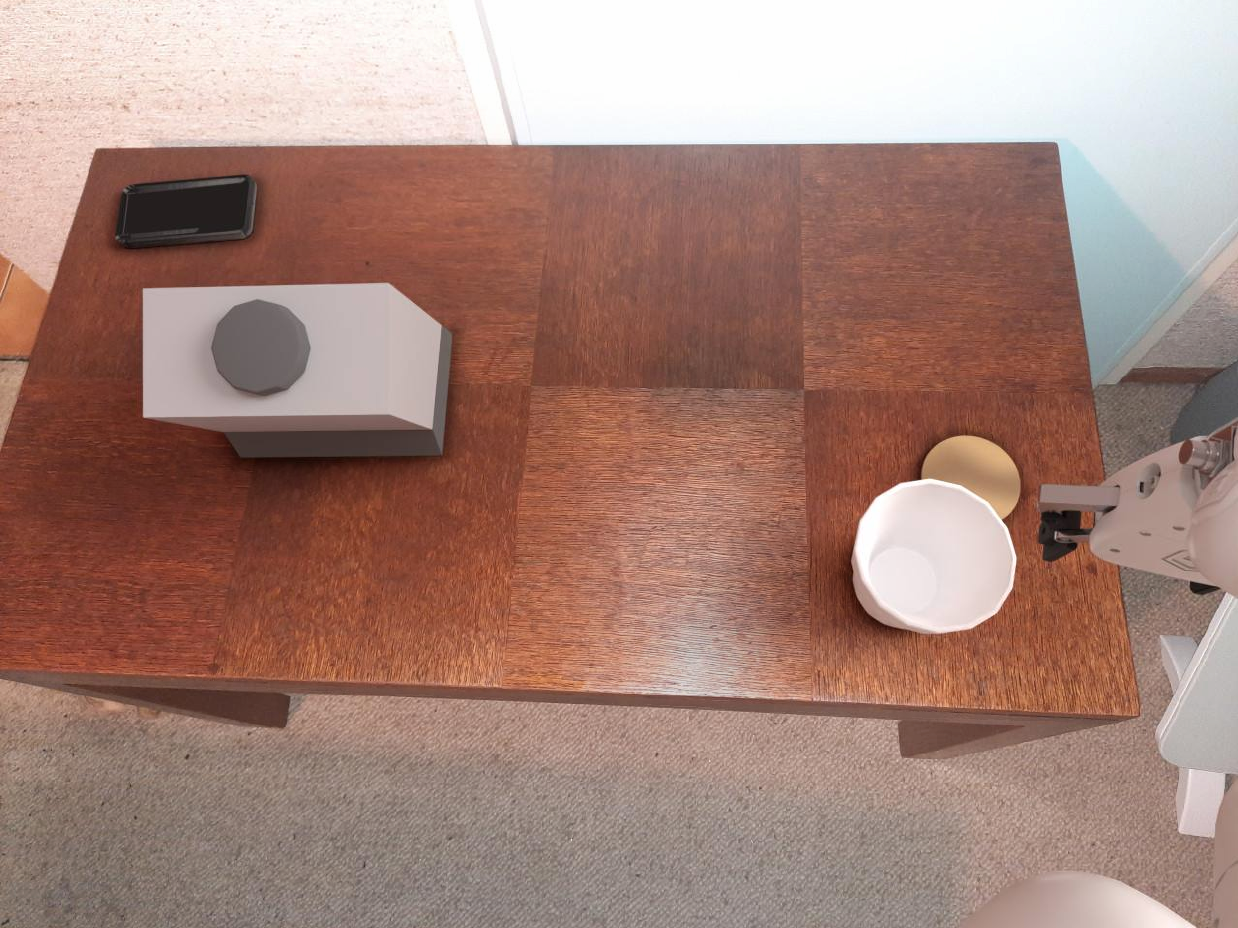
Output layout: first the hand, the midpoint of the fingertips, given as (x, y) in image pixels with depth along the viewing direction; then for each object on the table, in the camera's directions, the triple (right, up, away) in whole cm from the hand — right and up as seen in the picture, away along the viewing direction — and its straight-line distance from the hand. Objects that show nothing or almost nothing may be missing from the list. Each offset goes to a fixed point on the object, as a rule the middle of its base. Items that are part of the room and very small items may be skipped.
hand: (1121, 556), depth 59 cm
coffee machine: (-62, +12, +28) cm, 69 cm away
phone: (-83, +34, +37) cm, 97 cm away
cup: (-9, -4, +19) cm, 21 cm away
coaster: (-2, +5, +21) cm, 22 cm away
